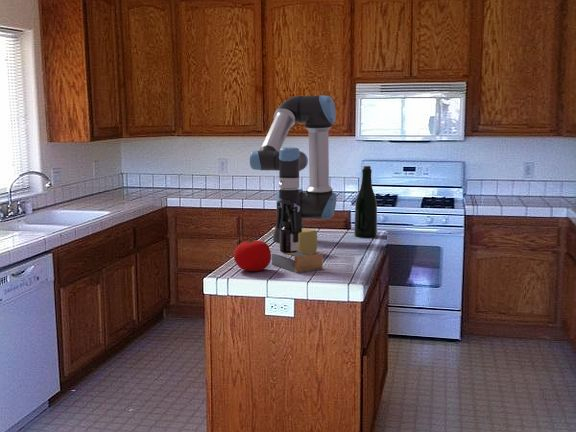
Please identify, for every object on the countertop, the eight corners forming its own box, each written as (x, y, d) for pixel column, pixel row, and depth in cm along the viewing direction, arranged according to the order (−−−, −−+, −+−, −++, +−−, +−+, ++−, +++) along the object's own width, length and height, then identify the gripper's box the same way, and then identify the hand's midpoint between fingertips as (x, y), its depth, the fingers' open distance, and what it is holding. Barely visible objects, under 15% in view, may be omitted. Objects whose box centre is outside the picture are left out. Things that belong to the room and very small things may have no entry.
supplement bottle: (276, 250, 262) (277, 219, 260) (293, 249, 265) (293, 218, 263) (283, 254, 256) (284, 222, 254) (300, 252, 258) (300, 221, 257)
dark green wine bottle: (380, 237, 318) (381, 166, 313) (358, 238, 316) (360, 167, 311) (372, 233, 328) (373, 165, 323) (351, 234, 326) (352, 165, 321)
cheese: (281, 253, 281) (281, 229, 280) (299, 250, 289) (299, 226, 287) (300, 257, 274) (300, 232, 273) (318, 253, 282) (318, 229, 280)
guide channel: (271, 264, 260) (271, 248, 260) (297, 261, 267) (297, 245, 266) (296, 273, 246) (296, 256, 245) (322, 269, 252) (322, 253, 251)
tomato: (274, 273, 246) (274, 242, 244) (236, 275, 243) (235, 243, 241) (267, 266, 258) (267, 236, 256) (231, 267, 255) (231, 237, 253)
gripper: (267, 187, 263) (267, 245, 266) (295, 191, 247) (294, 254, 250) (283, 186, 267) (283, 244, 270) (312, 190, 250) (311, 252, 254)
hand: (288, 248), depth 260 cm, fingers closed on supplement bottle, 7 cm apart
